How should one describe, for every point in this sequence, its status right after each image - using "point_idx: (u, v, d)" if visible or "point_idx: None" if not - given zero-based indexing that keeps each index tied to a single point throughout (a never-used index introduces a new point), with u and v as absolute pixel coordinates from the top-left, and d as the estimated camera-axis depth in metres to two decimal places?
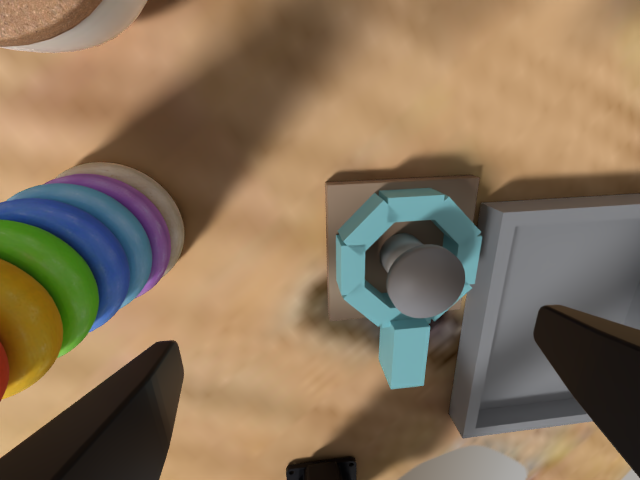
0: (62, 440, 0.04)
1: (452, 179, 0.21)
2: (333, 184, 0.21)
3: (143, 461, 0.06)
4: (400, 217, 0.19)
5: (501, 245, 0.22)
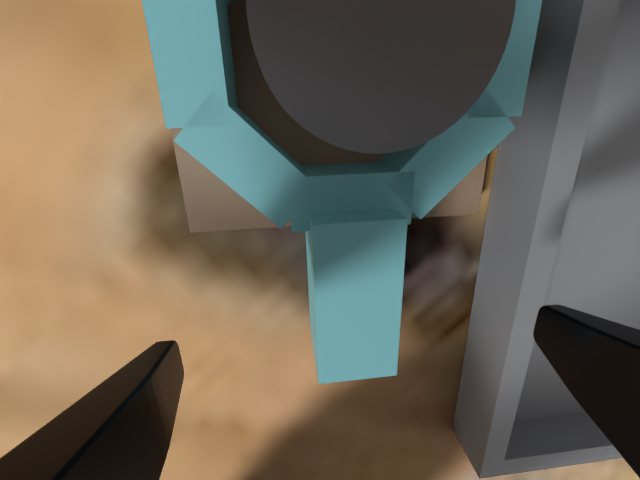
0: (62, 440, 0.04)
1: None
2: None
3: (143, 461, 0.06)
4: None
5: (591, 11, 0.08)
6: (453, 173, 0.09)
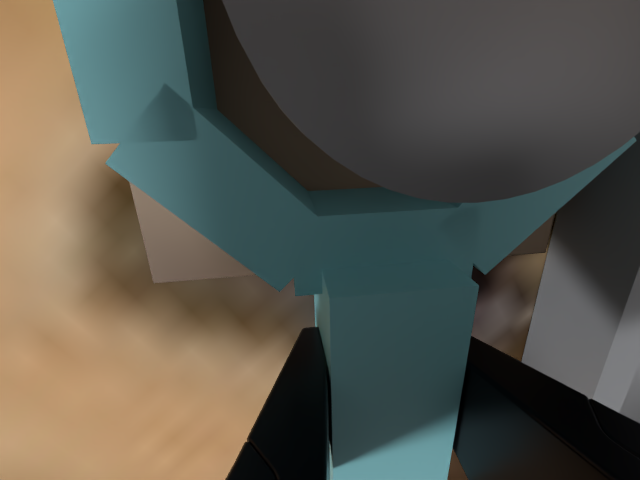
0: (299, 412, 0.05)
1: None
2: None
3: None
4: None
5: None
6: (538, 208, 0.06)
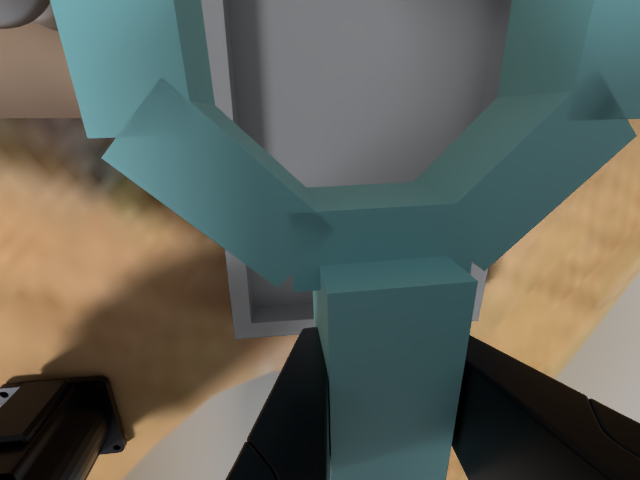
0: (299, 412, 0.05)
1: None
2: None
3: None
4: None
5: None
6: (537, 204, 0.06)
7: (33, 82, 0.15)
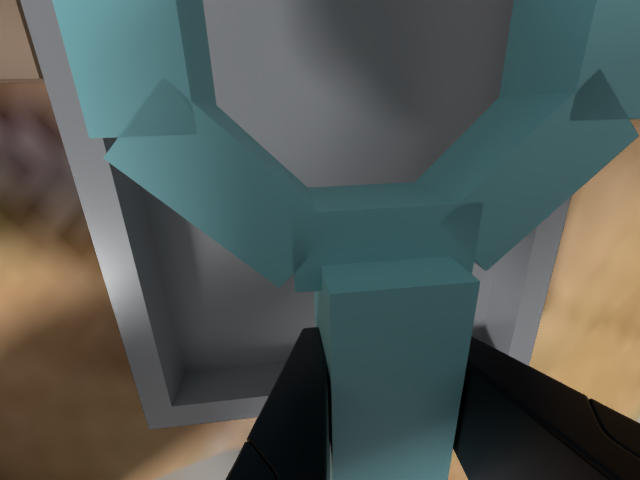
0: (299, 412, 0.05)
1: None
2: None
3: None
4: None
5: None
6: (540, 204, 0.06)
7: None
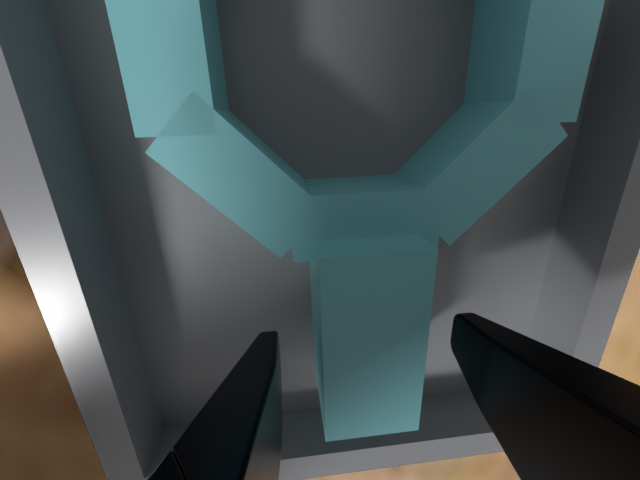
0: (231, 420, 0.05)
1: None
2: None
3: (275, 444, 0.06)
4: None
5: None
6: (490, 191, 0.07)
7: None
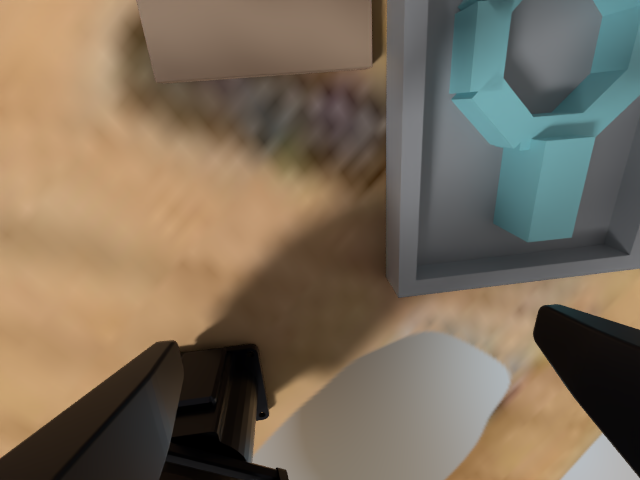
0: (62, 440, 0.04)
1: None
2: None
3: (143, 461, 0.06)
4: None
5: None
6: (613, 112, 0.16)
7: (220, 39, 0.14)
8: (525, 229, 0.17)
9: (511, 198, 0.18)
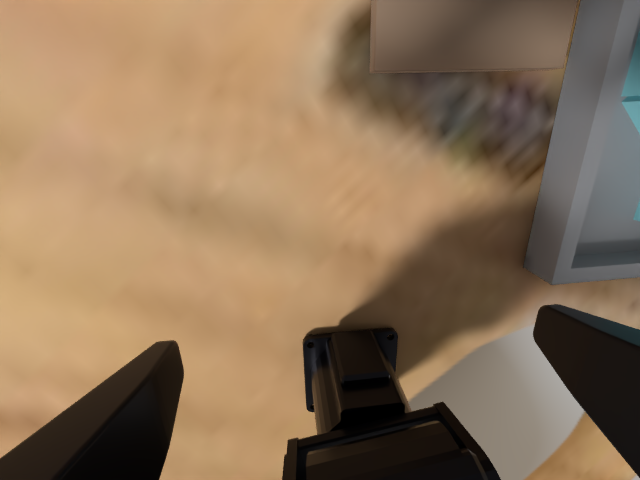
0: (62, 440, 0.04)
1: None
2: None
3: (143, 461, 0.06)
4: None
5: None
6: None
7: (440, 35, 0.16)
8: None
9: None
